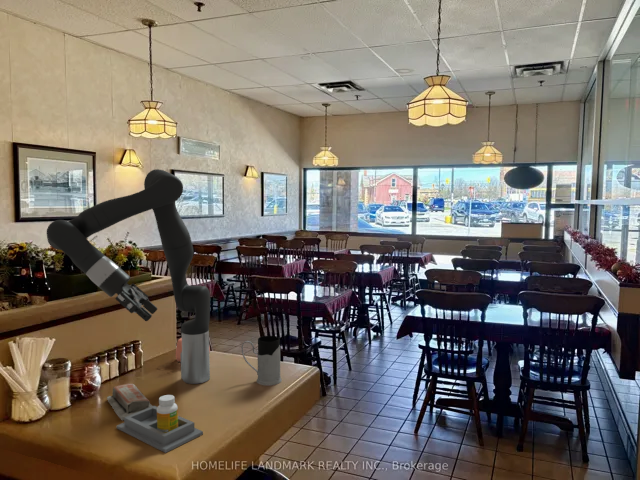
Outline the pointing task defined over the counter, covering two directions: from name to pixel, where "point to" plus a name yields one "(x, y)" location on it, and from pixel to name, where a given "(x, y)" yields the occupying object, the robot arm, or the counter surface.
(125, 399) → the packaged product
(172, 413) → the supplement bottle
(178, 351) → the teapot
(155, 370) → the counter surface
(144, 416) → the divided tray
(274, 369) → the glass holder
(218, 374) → the counter surface
